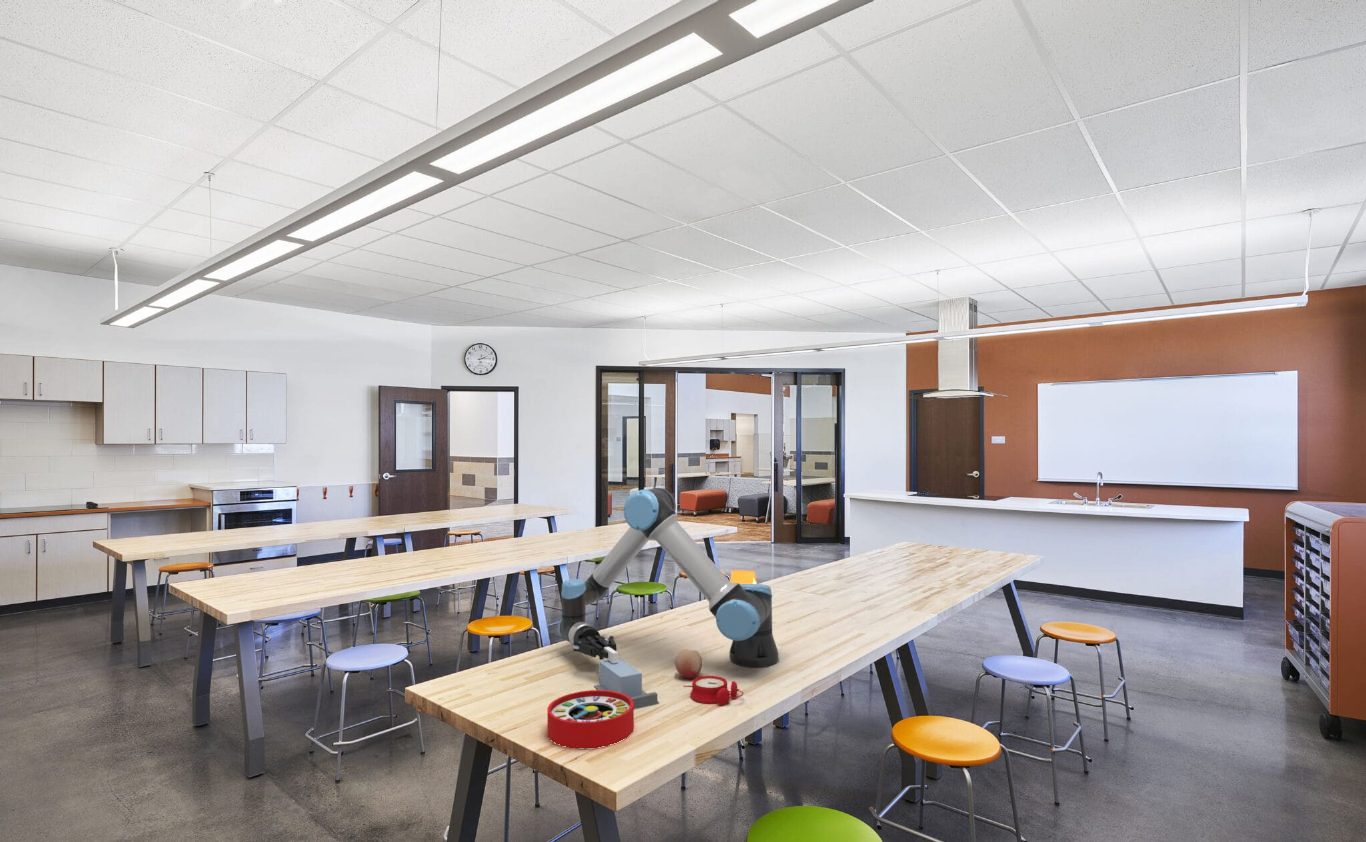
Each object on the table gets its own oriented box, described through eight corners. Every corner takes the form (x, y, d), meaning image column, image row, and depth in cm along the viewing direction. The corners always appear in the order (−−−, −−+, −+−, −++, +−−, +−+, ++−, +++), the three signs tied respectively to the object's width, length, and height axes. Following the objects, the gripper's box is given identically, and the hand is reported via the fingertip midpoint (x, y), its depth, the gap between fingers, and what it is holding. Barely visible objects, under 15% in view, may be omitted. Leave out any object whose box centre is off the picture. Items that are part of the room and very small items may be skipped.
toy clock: (650, 699, 157) (596, 730, 140) (650, 724, 157) (596, 758, 140) (586, 684, 168) (528, 711, 151) (586, 708, 167) (528, 737, 150)
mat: (593, 686, 182) (593, 677, 182) (626, 680, 186) (626, 671, 187) (623, 711, 164) (623, 701, 164) (659, 703, 169) (659, 693, 169)
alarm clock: (698, 673, 181) (746, 669, 174) (703, 696, 180) (751, 694, 173) (678, 685, 172) (728, 681, 165) (683, 709, 171) (733, 707, 164)
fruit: (705, 673, 191) (705, 645, 192) (698, 683, 184) (698, 653, 184) (679, 671, 193) (678, 643, 194) (671, 680, 186) (670, 652, 186)
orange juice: (753, 628, 238) (751, 573, 239) (729, 627, 241) (728, 572, 242) (758, 623, 246) (757, 569, 246) (735, 621, 249) (734, 568, 249)
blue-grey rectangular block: (599, 661, 184) (620, 677, 171) (618, 658, 187) (641, 673, 174) (599, 683, 183) (621, 700, 170) (619, 679, 186) (642, 696, 173)
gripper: (604, 646, 205) (637, 667, 184) (564, 653, 198) (593, 676, 178) (604, 622, 205) (636, 640, 185) (564, 628, 199) (593, 648, 178)
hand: (615, 658), depth 181 cm, fingers closed
